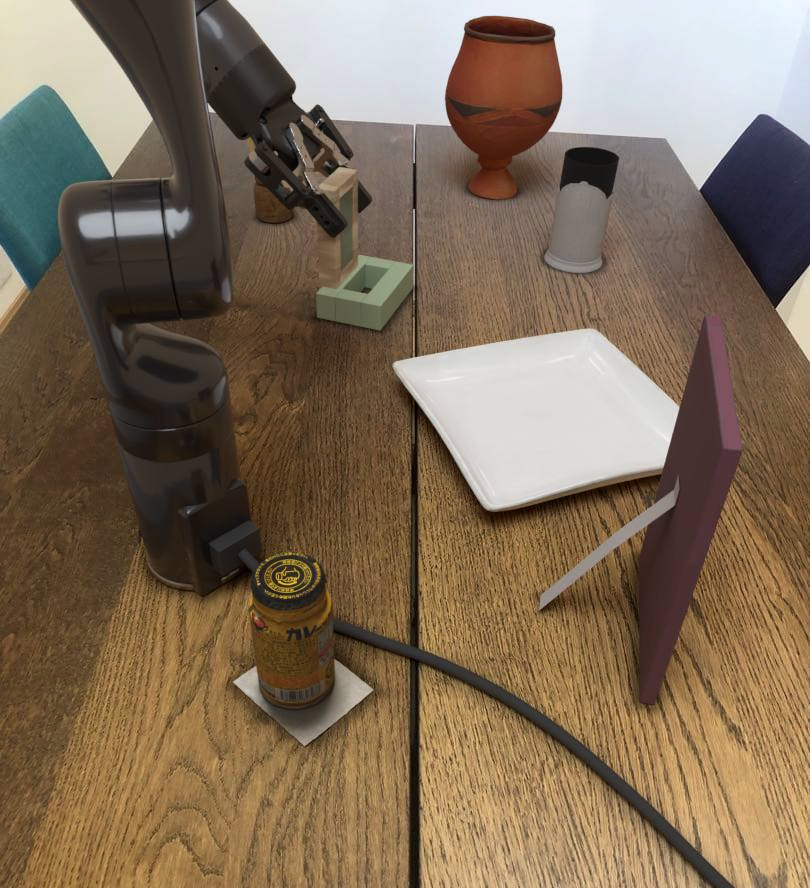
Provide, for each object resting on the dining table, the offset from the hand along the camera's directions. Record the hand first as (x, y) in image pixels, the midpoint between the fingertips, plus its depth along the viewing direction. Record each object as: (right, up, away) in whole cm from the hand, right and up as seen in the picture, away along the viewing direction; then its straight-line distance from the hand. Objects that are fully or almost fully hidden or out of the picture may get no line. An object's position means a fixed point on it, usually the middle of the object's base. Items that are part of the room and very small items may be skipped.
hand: (353, 218), depth 82 cm
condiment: (-3, -44, -17) cm, 47 cm away
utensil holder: (-16, +20, +50) cm, 56 cm away
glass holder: (+31, +12, +44) cm, 55 cm away
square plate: (+21, -20, +10) cm, 30 cm away
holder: (0, 0, +30) cm, 30 cm away
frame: (-2, -4, +5) cm, 7 cm away
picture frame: (+22, -39, -10) cm, 46 cm away
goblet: (+21, +29, +62) cm, 71 cm away
